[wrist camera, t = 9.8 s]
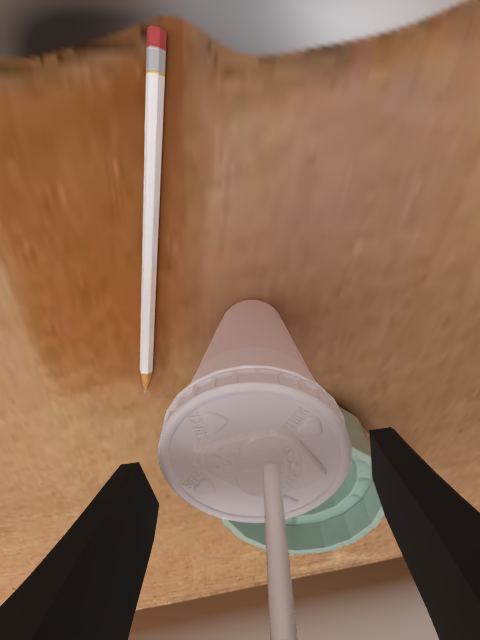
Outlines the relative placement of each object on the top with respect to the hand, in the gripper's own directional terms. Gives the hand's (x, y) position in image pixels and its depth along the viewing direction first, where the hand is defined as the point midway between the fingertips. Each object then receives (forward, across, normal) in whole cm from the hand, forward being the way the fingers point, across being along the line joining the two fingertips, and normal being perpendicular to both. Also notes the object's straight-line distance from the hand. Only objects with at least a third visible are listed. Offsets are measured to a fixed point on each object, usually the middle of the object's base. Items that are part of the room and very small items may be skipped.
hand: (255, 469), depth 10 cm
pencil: (+10, +4, -6) cm, 13 cm away
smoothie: (+10, 0, 0) cm, 10 cm away
